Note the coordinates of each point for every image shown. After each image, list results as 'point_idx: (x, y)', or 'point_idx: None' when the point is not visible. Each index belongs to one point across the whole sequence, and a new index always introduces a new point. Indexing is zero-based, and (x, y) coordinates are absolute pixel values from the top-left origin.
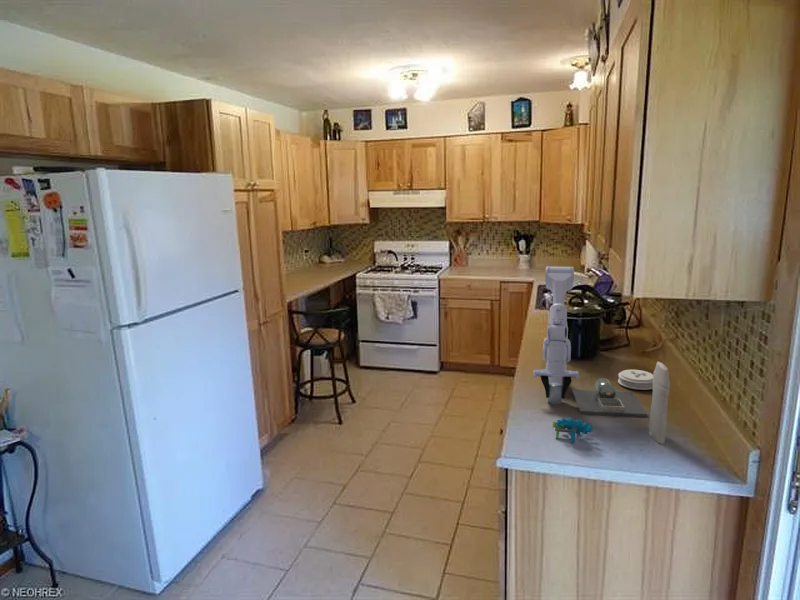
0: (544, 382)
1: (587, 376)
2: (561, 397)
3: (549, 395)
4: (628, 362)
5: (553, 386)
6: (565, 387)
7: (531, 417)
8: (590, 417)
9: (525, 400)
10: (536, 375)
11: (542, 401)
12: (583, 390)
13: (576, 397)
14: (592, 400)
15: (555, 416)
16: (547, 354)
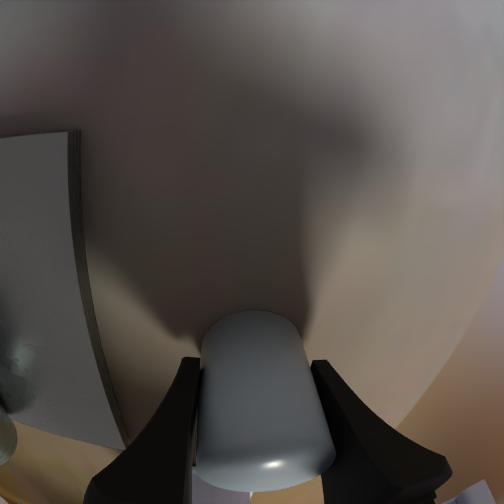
0: (422, 460)
1: None
2: (205, 364)
3: (311, 374)
4: (23, 499)
5: (300, 448)
6: (165, 439)
7: (485, 81)
8: (28, 73)
9: (427, 341)
10: (474, 499)
11: (338, 344)
12: (73, 437)
13: (95, 380)
14: (4, 333)
15: (325, 60)
16: None
